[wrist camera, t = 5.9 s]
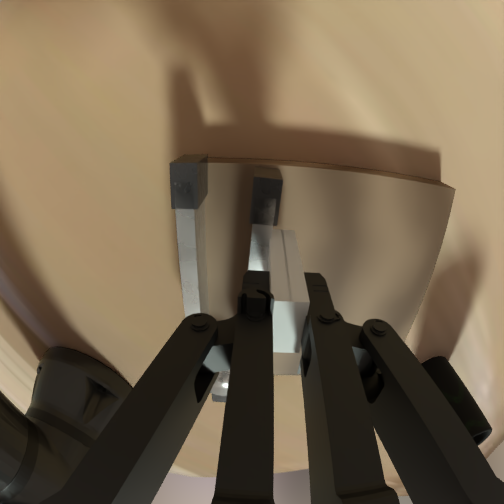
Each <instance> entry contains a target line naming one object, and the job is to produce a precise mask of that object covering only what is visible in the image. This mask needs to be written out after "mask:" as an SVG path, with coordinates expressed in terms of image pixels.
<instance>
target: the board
mask: <svg viewBox="0 0 504 504" xmlns="http://www.w3.org/2000/svg"><path fill="white" fill-rule="evenodd" d="M255 166H261V167H270V168H278V169H280V172H281V175H282V178H283V186H282V193H281V201H280V208H279V215H278V222H277V226H273V229H281V230H294V231H295V235H296V239H297V244H298V248H299V253H300V257H301V262H302V267H303V271H304V272H310V273H320V274H321V275H322V276H323V277H324V278H325V279H326V282H327V287H328V289H329V292H330V295H331V299H332V302H333V305H334V309H335V310H336V311H338V312H339V313H340V314H341V315H342V317H343V319H344V321H346V322H348V323H351V324H354V325H359V326H363V324H364V322H365V321H366V320H369V319H380V320H383V321H385V322H387V323H388V324H390V325H391V326H392V327H393V329H394V330H395V331H396V332H397V334H398V335H399V336H400V338H401V339H402V340H403V341H404V342H405V340H406V337H407V335H408V333H409V331H410V329H411V326H412V324H413V322H414V320H415V317H416V315H417V313H418V310H419V308H420V305H421V303H422V300H423V298H424V295H425V292H426V290H427V287H428V284H429V282H430V279H431V276H432V273H433V270H434V267H435V264H436V261H437V258H438V255H439V252H440V249H441V245H442V242H443V238H444V235H445V231H446V228H447V224H448V220H449V216H450V212H451V207H452V203H453V199H454V194H455V189H454V188H452V187H450V186H448V185H446V184H444V183H442V182H439V181H434V180H429V179H424V178H419V177H414V176H408V175H402V174H397V173H390V172H384V171H377V170H370V169H363V168H356V167H348V166H339V165H330V164H320V163H309V162H297V161H283V160H266V159H243V158H208V194H207V196H206V198H205V229H206V259H207V281H208V300H209V315H211V316H213V317H214V318H215V319H216V321H221V320H226V319H229V318H231V317H233V316H234V315H236V314H237V303H238V295H239V293H240V292H241V291H242V283H243V275H244V274H245V273H246V272H247V269H248V260H249V250H250V241H251V231H252V224H250V223H249V219H250V209H251V199H252V190H253V180H254V170H255ZM301 355H302V349H301V347H300V352H299V353H281V352H273V373H274V375H301V371H300V374H297V372H298V367H299V363H300V359H301Z"/></svg>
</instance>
